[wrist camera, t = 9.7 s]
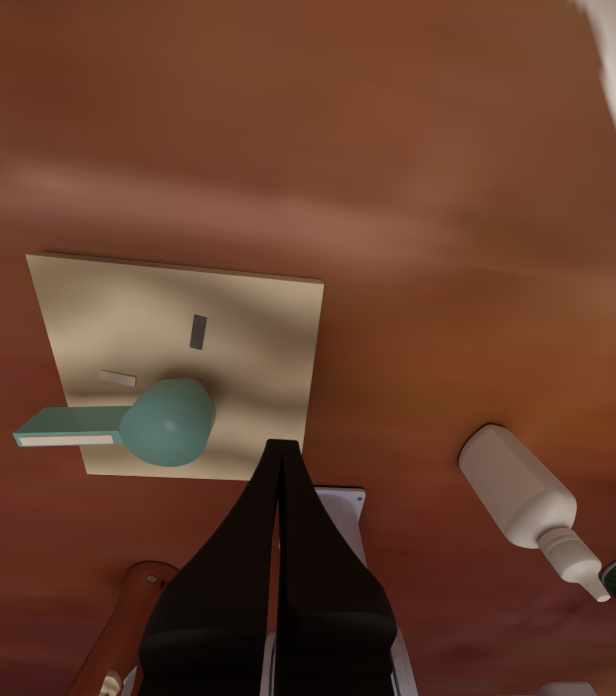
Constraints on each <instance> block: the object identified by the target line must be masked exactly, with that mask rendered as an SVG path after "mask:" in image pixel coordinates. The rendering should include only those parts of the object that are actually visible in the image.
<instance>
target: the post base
mask: <svg viewBox="0 0 616 696" xmlns="http://www.w3.org/2000/svg"><path fill="white" fill-rule="evenodd" d="M25 255H26V258H27V262H28V265H29V269H30V273H31V276H32V280H33V283H34V287H35V290H36V294H37V297H38V301H39V304H40V308H41V312H42V315H43V319H44V322H45V326H46V329H47V333H48V336H49V340H50V343H51V347H52V351H53V354H54V358H55V361H56V365H57V368H58V372H59V375H60V379H61V383H62V386H63V390H64V393H65V397H66V400H67V404H68V407H90V406H132V405H133V404H134V403H135V402H136V400H137V399H138V398H139V397H140V396H141V395H142V393H143V392H144V391H145V390H146V389H147V388H148V387H149V386H150V385H152V384H153V383H156V382H158V381H161V380H166V379H179V380H184V381H188V382H191V383H193V384H195V385H197V386H199V387H200V388H202V389H203V390H204V391H205V392H206V393H207V394H208V395H209V396H210V397H211V399H212V400H213V402H214V405H215V408H216V419H215V423H214V425H213V428H212V430H211V433H210V436H209V438H208V441H207V444H206V446H205V449H204V451H203V452H202V454H201V455H200V456H199V457H198V458H197V459H196V460H194V461H193V462H191V463H189V464H186V465H183V466H178V467H162V466H156V465H153V464H150V463H147V462H145V461H143V460H141V459H139V458H138V457H136V456H135V455H133V454H132V453H131V452H130V451H129V450H128V449H127V448H126V446H125V445H124V443H123V444H102V445H79V446H80V450H81V453H82V457H83V461H84V464H85V468H86V471H87V474H102V475H127V476H152V477H176V478H201V479H225V480H250V479H251V477H252V475H253V473H254V471H255V469H256V467H257V465H258V463H259V461H260V459H261V456H262V454H263V451H264V448H265V445H266V441H267V440H268V439H286V440H297V441H298V442H299V447H300V451H301V455H302V447H303V440H304V432H305V425H306V417H307V410H308V402H309V394H310V387H311V379H312V372H313V364H314V357H315V349H316V342H317V334H318V327H319V319H320V311H321V304H322V296H323V289H324V283H323V281H322V280H319V279H309V278H300V277H290V276H280V275H270V274H260V273H251V272H241V271H231V270H221V269H211V268H201V267H192V266H182V265H172V264H162V263H152V262H143V261H133V260H123V259H113V258H103V257H93V256H84V255H74V254H64V253H54V252H39V253H32V254H25Z"/></svg>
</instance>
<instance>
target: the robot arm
mask: <svg viewBox="0 0 616 696" xmlns="http://www.w3.org/2000/svg"><path fill="white" fill-rule="evenodd" d="M365 496H366V493H365V490H363V489H352V488H327V487H314V486H313V484H312V481H311V479H310V477H309V474H308V472H307V469H306V467H305V464H304V461H303V458H302V455H301V451H300V447H299V442H298V441H297V440H286V439H268V440H267V441H266V445H265V448H264V451H263V454H262V456H261V459H260V461H259V463H258V465H257V467H256V469H255V471H254V473H253V475H252V477H251V479H250V481H249V482H248V484H247V486H246V488H245V489H244V491H243V493H242V494H241V496H240V498H239V499H238V501H237V502H236V504H235V505H234V507H233V508H232V509H231V511H230V512H229V514H228V515H227V516H226V518H225V519H224V520H223V522H222V523H221V524H220V526H219V527H218V528H217V530H216V531H215V532H214V533H213V535H212V536H211V537H210V538H209V539H208V541H207V542H206V543H205V544H204V545H203V546H202V547H201V549H200V550H199V551H198V552H197V553H196V554H195V555H194V557H193V558H192V559H191V560H190V561H189V562H188V563H187V564H186V565H185V566H184V567H183V568H182V569H181V570H180V571H179V572H178V573H177V574H176V575H175V576H174V577H173V578H172V579H171V580H170V581H169V582H168V584H167V585H166V587H165V589H164V590H163V592H162V594H161V596H160V597H159V599H158V601H157V603H156V605H155V607H154V609H153V611H152V613H151V615H150V617H149V619H148V622H147V624H146V627H145V630H144V632H143V635H142V638H141V641H140V644H139V646H138V658H139V662H140V665H141V669H142V672H143V676H144V677H143V680H142V683H141V686H140V689H139V692H138V695H137V696H418V694H417V689H416V685H415V681H414V677H413V673H412V669H411V665H410V661H409V657H408V654H407V650H406V646H405V643H404V640H403V637H402V634H401V631H400V629H399V627H398V626H397V625H396V621H395V617H394V614H393V612H392V609H391V606H390V603H389V600H388V598H387V596H386V593H385V591H384V589H383V586H382V585H381V584H380V583H379V582H378V581H377V579H376V578H375V577H374V576H373V575H372V574H371V573H370V571H369V570H368V568H367V564H366V559H365V554H364V549H363V544H362V540H361V535H360V530H359V525H358V521H359V518H360V514H361V511H362V507H363V503H364V500H365ZM277 501H278V503H279V536H280V541H279V548H280V570H279V591H278V611H277V630H276V633H271V634H269V636H268V638H267V640H266V630H267V614H268V598H269V580H270V563H271V546H272V535H273V528H274V521H275V515H276V508H277ZM265 641H266V642H265ZM518 696H597V695H596V694H595V692H594V690H593V689H592V687H591V686H590V684H588V683H587V682H554V683H549V684H546V685H544V686H542V687H541V688H540V689H539V690H538V691H537V694H536V695H518Z"/></svg>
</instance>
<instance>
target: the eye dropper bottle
mask: <svg viewBox="0 0 616 696" xmlns="http://www.w3.org/2000/svg"><path fill="white" fill-rule="evenodd" d="M458 464H459V467H460V469H461V471H462V472H463V474H464V475H465V477H466V478H467V480H468V482H469V483H470V485H471V486H472V488H473V489H474V491H475V492H476V494H477V495H478V497H479V498H480V500H481V501H482V503H483V504H484V506H485V507H486V509H487V510H488V512H489V513H490V515H491V516H492V518H493V519H494V521H495V522H496V524H497V525H498V527H499V528H500V530H501V531H502V533H503V534H504V535H505V537H506V538H507V539H508V540H509V541H510V542H512V543H513V544H515V545H517V546H521V547H525V548H540V550H541V551H542V552H543V554H544V555H545V556H546V558H547V559H548V560H549V562H550V563H551V564H552V566H553V567H554V568H555V570H556V571H557V573H558V574H559V575H560V577H561V578H562V579H563V580H565V581H568V582H577V583H579V584H581V585H582V586H583V587H584V588H585V589H586V590H587V591H588V592H589V593H590V594H591V595H592V596H593V597H594V598H595V599H596V600H597V601H598V602H604V601H606V600H608V599H609V598H610V596H609V594H608V592H607V591H606V589H605V588H604V586H603V585H602V583H601V581H600V580H599V578H598V573H599V571H600V570H601V562H600V561H599V560H598V558H597V557H596V556H595V555H594V554H593V553H592V552H591V550H590V549H589V548H588V547H587V546H586V545H585V544H584V543H583V541H582V540H581V539H580V538H579V537H578V536H577V535H576V533H575V532H574V531H573V530H571V527H572V525H573V522H574V519H575V515H576V509H577V505H576V500H575V498H574V496H573V495H572V494H571V493H570V492H569V490H568V489H567V488H566V487H565V486H564V485H563V484H562V483H561V482H560V481H559V480H558V479H557V478H556V477H555V476H554V475H553V474H552V473H551V472H550V471H549V470H548V469H547V468H546V467H545V466H544V465H543V464H542V463H541V462H540V461H539V460H538V459H537V458H536V457H535V456H534V455H533V454H532V453H531V452H530V451H529V450H528V449H527V448H526V447H525V446H524V445H523V444H522V443H521V442H520V441H519V440H518V439H517V438H516V437H515V436H514V435H513V434H512V433H511V432H510V431H509V430H508V429H506V428H503V427H500V426H497V425H490V424H489V425H486V426H484V427H483V428H481V429H480V430H479V431H477V432H476V433H475V434H474V435H473V436H472V437H471V438H470V439H469V440H468V442H467V443H466V444H465V446H464V447H463V449H462V451H461V454H460V457H459V461H458Z"/></svg>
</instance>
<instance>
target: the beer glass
mask: <svg viewBox="0 0 616 696" xmlns="http://www.w3.org/2000/svg"><path fill="white" fill-rule="evenodd" d="M177 573H178V571H177V570H176V569H175V568H173V567H172V566H170V565H167V564H164V563H160V562H142V563H139V564H136V565H134V566H132V567H131V568H130V569H129V570H128V572H127V574H126V576H125V579H124V582H123V586H122V589H121V593H120V596H119V599H118V602H117V604H116V606H115V609H114V611H113V613H112V615H111V617H110V619H109V621H108V623H107V624H106V626H105V628H104V629H103V631H102V633H101V635H100V636H99V638H98V639H97V641H96V643H95V644H94V646H93V648H92V649H91V651H90V652H89V654H88V656H87V657H86V659H85V661H84V662H83V664H82V666H81V667H80V669H79V671H78V672H77V674H76V676H75V678H74V679H73V681H72V683H71V685H70V686H69V688H68V690H67V692H66V693H65V695H64V696H137V695H138V692H139V689H140V686H141V683H142V680H143V677H144V676H143V672H142V669H141V665H140V662H139V658H138V646H139V644H140V641H141V638H142V635H143V632H144V630H145V627H146V624H147V622H148V619H149V617H150V615H151V613H152V611H153V609H154V607H155V605H156V603H157V601H158V599H159V597H160V596H161V594H162V592H163V590H164V589H165V587H166V585H167V584H168V582H169V581H170V580H171V579H172V578H173V577H174V576H175V575H176V574H177Z"/></svg>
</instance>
